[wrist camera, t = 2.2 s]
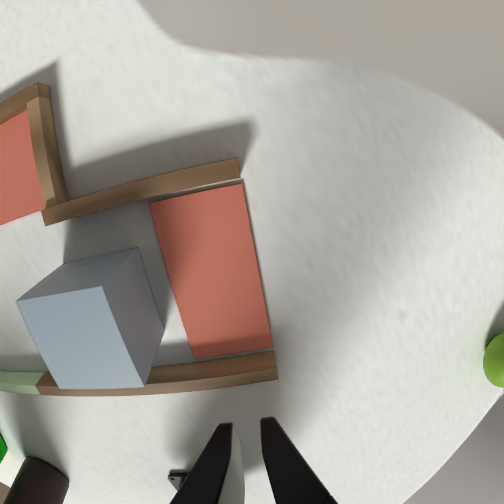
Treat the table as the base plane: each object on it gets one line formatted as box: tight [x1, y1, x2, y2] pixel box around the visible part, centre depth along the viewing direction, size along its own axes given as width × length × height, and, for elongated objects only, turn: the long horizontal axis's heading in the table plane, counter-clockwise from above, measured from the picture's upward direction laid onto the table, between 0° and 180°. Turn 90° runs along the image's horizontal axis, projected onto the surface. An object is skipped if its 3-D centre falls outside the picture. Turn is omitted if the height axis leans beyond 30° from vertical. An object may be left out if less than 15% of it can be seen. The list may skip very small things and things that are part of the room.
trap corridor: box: [0, 83, 279, 396], centre depth 18 cm, size 22×29×2 cm
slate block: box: [16, 248, 165, 389], centre depth 17 cm, size 6×6×6 cm
